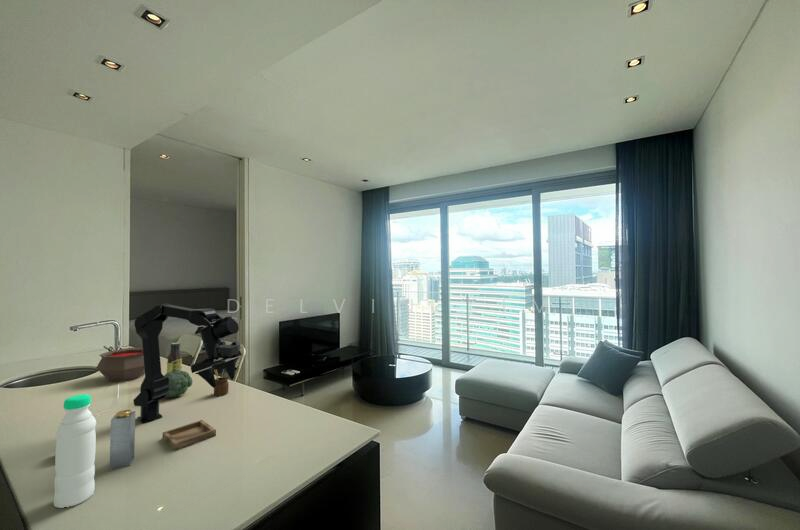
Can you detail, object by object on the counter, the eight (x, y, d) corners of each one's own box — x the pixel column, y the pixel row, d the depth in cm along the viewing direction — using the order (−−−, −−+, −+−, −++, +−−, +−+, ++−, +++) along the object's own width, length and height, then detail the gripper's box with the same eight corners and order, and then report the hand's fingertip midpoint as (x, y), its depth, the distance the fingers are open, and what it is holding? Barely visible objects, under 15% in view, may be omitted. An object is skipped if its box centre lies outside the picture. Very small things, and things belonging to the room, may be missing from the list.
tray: (162, 438, 108) (162, 432, 108) (201, 425, 118) (201, 419, 118) (175, 450, 101) (175, 444, 101) (215, 435, 110) (216, 429, 110)
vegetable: (197, 382, 158) (196, 376, 146) (176, 407, 150) (173, 402, 138) (176, 368, 156) (173, 361, 145) (152, 393, 148) (148, 387, 137)
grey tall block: (114, 461, 95) (116, 410, 95) (134, 457, 97) (135, 407, 97) (109, 470, 91) (111, 416, 91) (129, 465, 93) (131, 413, 93)
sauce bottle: (173, 385, 160) (174, 345, 161) (162, 384, 161) (163, 344, 162) (184, 380, 166) (185, 342, 167) (174, 380, 168) (175, 341, 168)
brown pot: (82, 383, 162) (83, 351, 162) (129, 369, 185) (130, 341, 186) (122, 386, 158) (123, 353, 158) (165, 372, 181) (166, 342, 182)
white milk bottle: (72, 490, 82) (75, 391, 83) (102, 489, 83) (104, 391, 84) (44, 510, 75) (48, 402, 76) (77, 508, 76) (80, 401, 77)
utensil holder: (231, 392, 151) (231, 366, 151) (219, 397, 145) (220, 370, 145) (221, 390, 153) (222, 365, 153) (210, 395, 147) (210, 369, 147)
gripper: (210, 340, 109) (223, 385, 107) (247, 330, 127) (258, 369, 126) (184, 350, 111) (196, 394, 109) (223, 339, 129) (234, 377, 127)
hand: (224, 382), depth 118 cm, fingers open, 9 cm apart
